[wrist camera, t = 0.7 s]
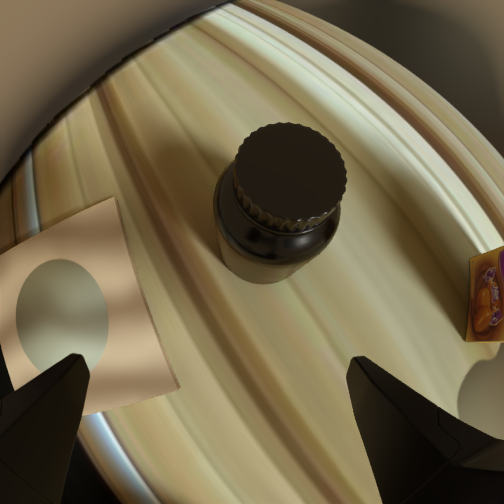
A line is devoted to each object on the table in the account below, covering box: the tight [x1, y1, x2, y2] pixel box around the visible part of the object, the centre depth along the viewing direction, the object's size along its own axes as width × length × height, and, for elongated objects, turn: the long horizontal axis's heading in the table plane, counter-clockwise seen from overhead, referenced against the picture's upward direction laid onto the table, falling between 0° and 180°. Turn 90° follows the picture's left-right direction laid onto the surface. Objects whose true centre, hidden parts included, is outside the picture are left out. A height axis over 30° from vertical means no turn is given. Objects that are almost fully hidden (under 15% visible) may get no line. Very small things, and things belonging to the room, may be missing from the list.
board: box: [0, 197, 180, 416], centre depth 20 cm, size 16×16×1 cm
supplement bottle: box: [213, 122, 347, 284], centre depth 17 cm, size 7×7×12 cm
